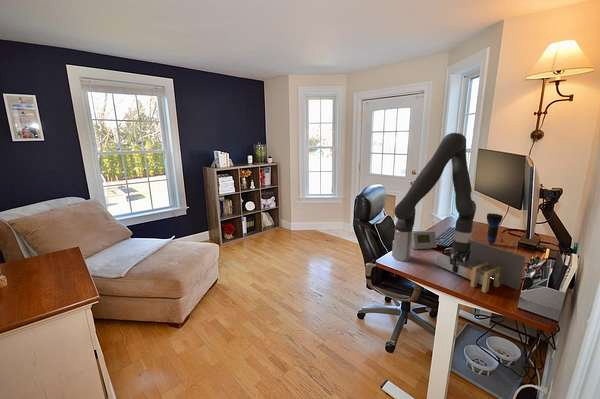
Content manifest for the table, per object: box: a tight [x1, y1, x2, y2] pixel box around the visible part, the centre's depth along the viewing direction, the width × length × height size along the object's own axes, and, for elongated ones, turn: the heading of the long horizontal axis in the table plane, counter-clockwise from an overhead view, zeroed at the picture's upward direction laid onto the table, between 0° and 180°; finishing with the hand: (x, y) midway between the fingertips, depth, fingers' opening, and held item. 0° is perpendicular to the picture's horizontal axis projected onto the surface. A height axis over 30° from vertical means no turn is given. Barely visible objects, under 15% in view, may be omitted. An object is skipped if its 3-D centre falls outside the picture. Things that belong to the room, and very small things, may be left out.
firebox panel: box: [450, 239, 526, 291], centre depth 131 cm, size 32×1×16 cm, turn 28°
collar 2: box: [481, 266, 503, 294], centre depth 119 cm, size 2×12×10 cm, turn 118°
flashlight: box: [486, 212, 503, 246], centre depth 168 cm, size 8×8×20 cm
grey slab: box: [435, 253, 486, 286], centre depth 132 cm, size 24×5×5 cm, turn 28°
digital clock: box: [411, 229, 438, 250], centre depth 166 cm, size 16×9×11 cm, turn 85°
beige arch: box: [469, 262, 491, 288], centre depth 124 cm, size 2×12×10 cm, turn 118°
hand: (458, 270), depth 134 cm, fingers closed on grey slab, 5 cm apart
